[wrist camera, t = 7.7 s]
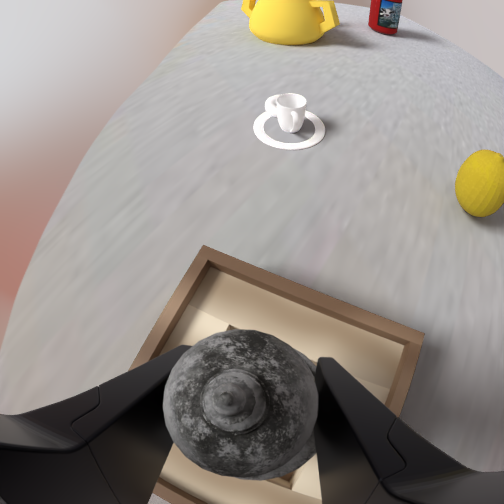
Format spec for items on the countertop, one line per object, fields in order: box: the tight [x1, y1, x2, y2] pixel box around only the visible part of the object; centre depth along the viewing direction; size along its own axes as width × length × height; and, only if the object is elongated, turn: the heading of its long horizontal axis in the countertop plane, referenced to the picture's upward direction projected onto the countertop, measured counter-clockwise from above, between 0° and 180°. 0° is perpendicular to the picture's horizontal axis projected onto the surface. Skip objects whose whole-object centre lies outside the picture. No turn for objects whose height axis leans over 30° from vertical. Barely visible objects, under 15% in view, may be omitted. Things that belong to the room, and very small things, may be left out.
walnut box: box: [128, 245, 425, 504], centre depth 17 cm, size 15×15×4 cm
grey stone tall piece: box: [163, 329, 318, 481], centre depth 9 cm, size 6×6×12 cm
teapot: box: [241, 0, 340, 45], centre depth 44 cm, size 20×18×11 cm
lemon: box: [455, 150, 504, 217], centre depth 22 cm, size 6×6×8 cm
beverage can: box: [368, 0, 402, 35], centre depth 46 cm, size 7×7×12 cm
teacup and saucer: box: [254, 93, 325, 150], centre depth 31 cm, size 9×8×4 cm
